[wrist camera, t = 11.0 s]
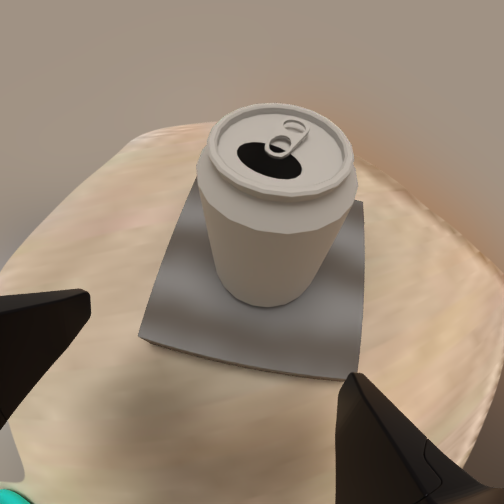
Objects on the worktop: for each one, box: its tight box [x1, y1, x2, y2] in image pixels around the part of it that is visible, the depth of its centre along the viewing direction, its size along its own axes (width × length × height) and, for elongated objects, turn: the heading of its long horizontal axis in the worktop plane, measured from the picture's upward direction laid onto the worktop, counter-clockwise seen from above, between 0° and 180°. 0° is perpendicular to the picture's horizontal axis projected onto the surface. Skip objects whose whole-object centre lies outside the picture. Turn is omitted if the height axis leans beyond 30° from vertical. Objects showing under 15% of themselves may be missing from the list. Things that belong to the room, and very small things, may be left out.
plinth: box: [138, 177, 365, 382], centre depth 23 cm, size 16×16×3 cm
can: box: [196, 103, 358, 307], centre depth 16 cm, size 8×8×12 cm
